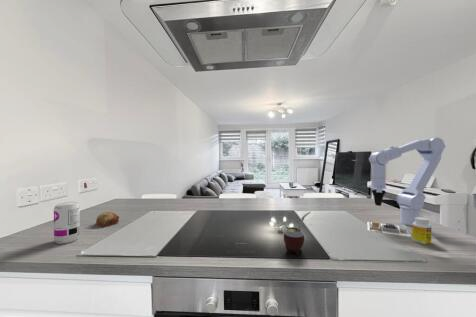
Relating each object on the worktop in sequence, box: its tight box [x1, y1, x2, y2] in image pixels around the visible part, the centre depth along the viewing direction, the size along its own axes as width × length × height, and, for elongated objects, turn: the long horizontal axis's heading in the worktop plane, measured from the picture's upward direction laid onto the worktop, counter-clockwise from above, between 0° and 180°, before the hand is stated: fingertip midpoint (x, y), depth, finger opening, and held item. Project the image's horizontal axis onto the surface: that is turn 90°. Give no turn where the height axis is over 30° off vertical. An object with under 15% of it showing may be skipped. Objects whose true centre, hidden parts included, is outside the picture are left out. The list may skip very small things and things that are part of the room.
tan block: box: [371, 220, 380, 230], centre depth 94 cm, size 3×2×3 cm
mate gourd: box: [283, 211, 311, 257], centre depth 75 cm, size 8×8×15 cm
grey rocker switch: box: [398, 223, 408, 232], centre depth 91 cm, size 4×2×1 cm, turn 149°
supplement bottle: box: [411, 216, 432, 245], centre depth 81 cm, size 6×6×10 cm
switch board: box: [366, 221, 412, 238], centre depth 95 cm, size 14×15×3 cm
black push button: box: [385, 223, 396, 229], centre depth 93 cm, size 3×3×2 cm
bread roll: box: [94, 211, 120, 228], centre depth 107 cm, size 10×10×8 cm
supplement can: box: [53, 201, 81, 245], centre depth 86 cm, size 8×8×15 cm
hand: (378, 205), depth 101 cm, fingers closed
